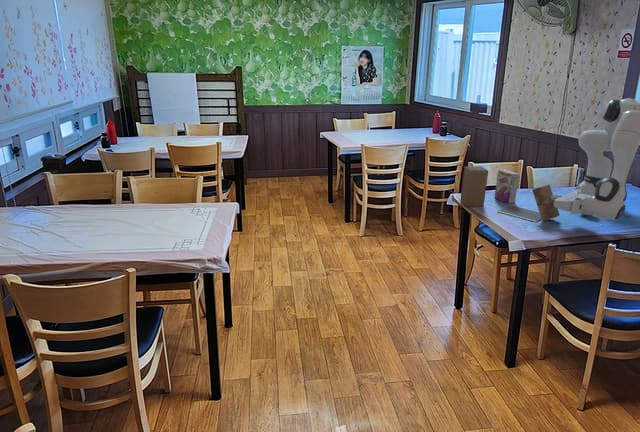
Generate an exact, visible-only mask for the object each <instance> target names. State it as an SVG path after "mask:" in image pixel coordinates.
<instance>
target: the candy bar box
mask: <svg viewBox="0 0 640 432" xmlns="http://www.w3.org/2000/svg"><path fill="white" fill-rule="evenodd" d="M496 176H497V177H496V184H495V185H496V186H495V190H494V191H495V193H494V197H493V198H494V199H497V200H499V201H501V202H503V203H506V204H514V203H515V202H516V197H517V191H518V185H519V178H520V174H519V173H516V172H513V171H511V170H509V169H508V170H507V169H499V170H498V171H497V175H496Z"/></svg>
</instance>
